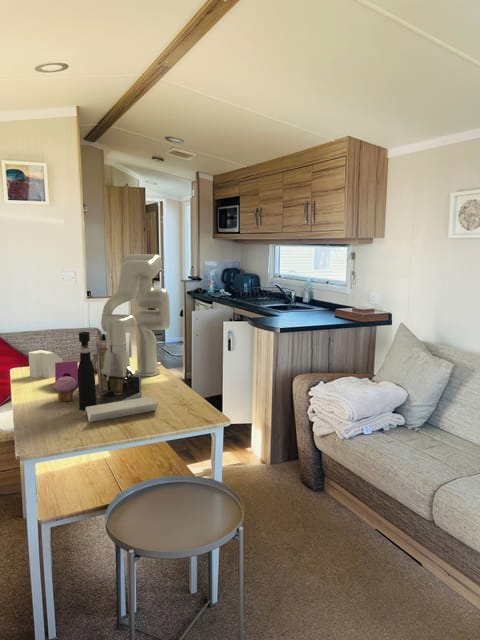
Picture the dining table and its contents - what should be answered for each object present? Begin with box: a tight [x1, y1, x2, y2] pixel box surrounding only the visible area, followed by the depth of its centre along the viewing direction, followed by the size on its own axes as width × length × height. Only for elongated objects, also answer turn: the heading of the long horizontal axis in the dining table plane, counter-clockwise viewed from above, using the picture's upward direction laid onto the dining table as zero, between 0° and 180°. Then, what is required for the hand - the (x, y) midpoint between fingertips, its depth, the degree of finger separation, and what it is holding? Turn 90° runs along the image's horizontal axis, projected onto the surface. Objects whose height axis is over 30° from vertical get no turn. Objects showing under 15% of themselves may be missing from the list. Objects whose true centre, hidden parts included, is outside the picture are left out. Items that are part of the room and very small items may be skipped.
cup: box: [108, 376, 127, 396], centre depth 197 cm, size 8×7×8 cm
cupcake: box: [53, 376, 77, 402], centre depth 197 cm, size 9×9×10 cm
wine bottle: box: [77, 331, 97, 412], centre depth 186 cm, size 6×6×30 cm
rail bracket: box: [96, 374, 142, 405], centre depth 197 cm, size 13×13×9 cm
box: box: [95, 340, 109, 395], centre depth 214 cm, size 17×9×20 cm, turn 21°
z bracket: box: [83, 396, 160, 423], centre depth 181 cm, size 12×25×6 cm
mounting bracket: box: [54, 360, 79, 391], centre depth 218 cm, size 10×9×19 cm
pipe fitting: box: [91, 351, 98, 373], centre depth 244 cm, size 12×8×10 cm, turn 32°
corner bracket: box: [28, 349, 64, 379], centre depth 235 cm, size 11×11×12 cm
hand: (118, 390), depth 198 cm, fingers closed on cup, 7 cm apart
